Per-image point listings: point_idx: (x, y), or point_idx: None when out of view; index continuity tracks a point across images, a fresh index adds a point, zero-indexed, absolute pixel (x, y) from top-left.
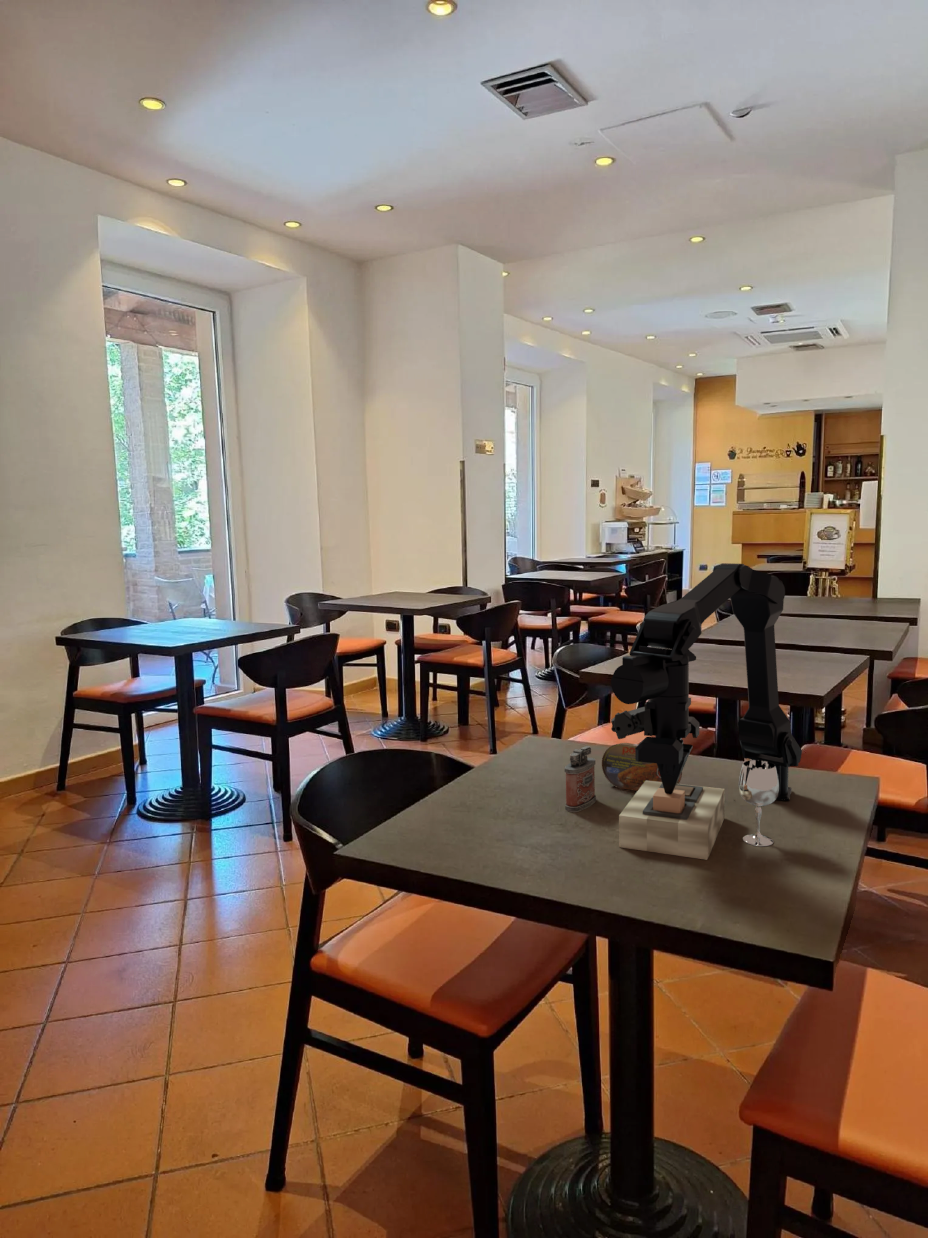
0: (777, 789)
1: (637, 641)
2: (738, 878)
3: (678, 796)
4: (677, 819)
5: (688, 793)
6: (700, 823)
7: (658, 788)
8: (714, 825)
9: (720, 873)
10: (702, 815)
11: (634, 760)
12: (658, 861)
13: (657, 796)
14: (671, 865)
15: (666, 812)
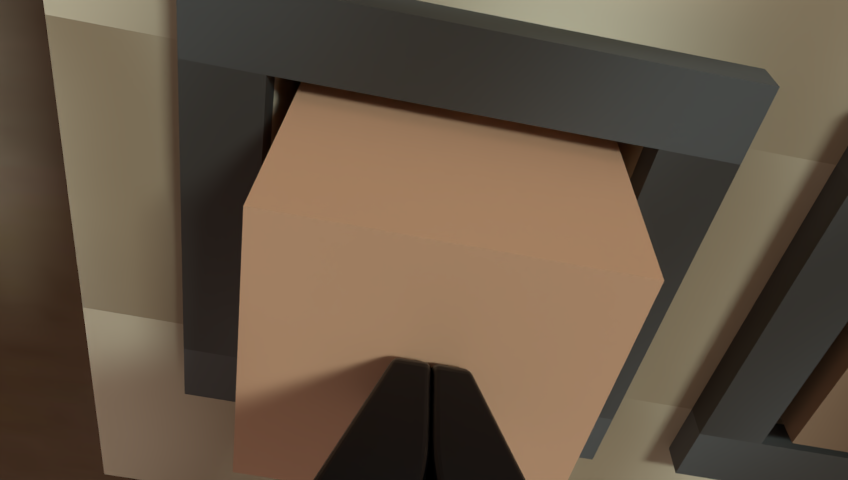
0: None
1: None
2: (23, 401)
3: (314, 466)
4: (170, 307)
5: (844, 442)
6: (152, 444)
7: (625, 279)
8: None
9: (39, 342)
10: None
11: None
12: (28, 17)
13: (243, 260)
14: (7, 105)
15: (237, 241)
